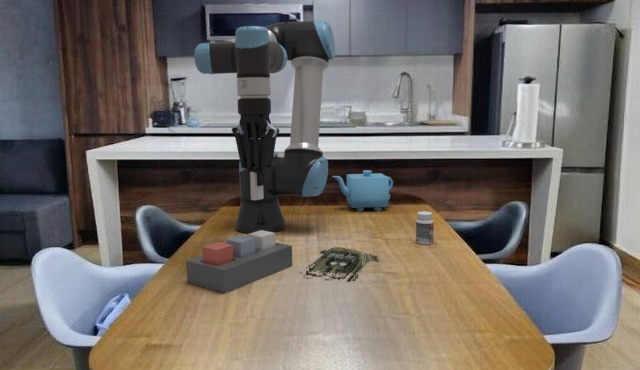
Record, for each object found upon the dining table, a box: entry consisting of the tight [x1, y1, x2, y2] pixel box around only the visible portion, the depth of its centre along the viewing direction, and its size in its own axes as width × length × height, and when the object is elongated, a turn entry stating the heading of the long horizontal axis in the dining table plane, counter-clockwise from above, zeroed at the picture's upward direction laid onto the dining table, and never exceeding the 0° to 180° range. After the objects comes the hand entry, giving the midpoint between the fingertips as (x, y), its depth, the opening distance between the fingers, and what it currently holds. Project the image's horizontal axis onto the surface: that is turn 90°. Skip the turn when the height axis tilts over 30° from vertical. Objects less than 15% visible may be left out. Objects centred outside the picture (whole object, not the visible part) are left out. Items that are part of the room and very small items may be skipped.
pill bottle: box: [415, 211, 435, 246], centre depth 146 cm, size 5×5×8 cm
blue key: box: [225, 234, 255, 258], centre depth 123 cm, size 5×5×4 cm
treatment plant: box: [297, 246, 380, 282], centre depth 129 cm, size 25×18×4 cm
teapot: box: [331, 169, 394, 213], centre depth 190 cm, size 22×11×14 cm, turn 96°
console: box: [185, 242, 293, 294], centre depth 123 cm, size 12×22×5 cm, turn 143°
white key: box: [247, 230, 277, 250], centre depth 128 cm, size 5×5×4 cm
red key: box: [202, 241, 233, 266], centre depth 117 cm, size 5×5×4 cm
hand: (257, 199), depth 125 cm, fingers closed
